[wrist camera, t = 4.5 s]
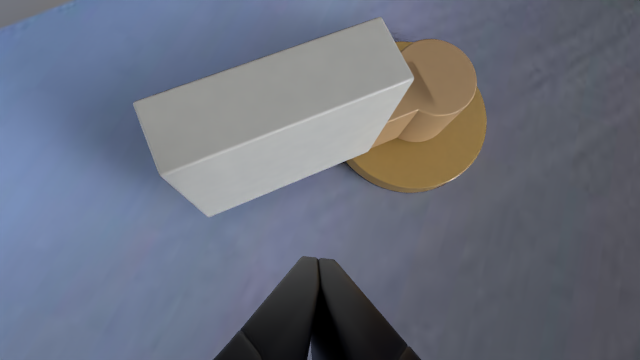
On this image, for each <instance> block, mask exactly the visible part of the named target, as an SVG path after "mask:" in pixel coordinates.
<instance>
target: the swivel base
mask: <svg viewBox="0 0 640 360" xmlns="http://www.w3.org/2000/svg"><path fill="white" fill-rule="evenodd" d="M395 43H396V45H397V47H398V49H399V50H400V52H401V51H402V50H403V49H404V48H405V47H407V46H408V45H410V44H411V43H413V42H395ZM485 133H486V110H485V106H484V102H483V99H482V96H481V93H480V91H479V89H478V87H477V85H476V91H475V94H474V97H473V99H472V101H471V102H470V103H469V105H468V106H467V107H466V108H465V109H464V110H462V111H461V112H460V113H459V114H458V115H457V116H456V117H455V118H454V119H453V120H452V121H451V122H450V123H449V124H448V125H447V126H446V127H445V128H444V129H443V130H442V131H441V132H440V133H439V134H438V135H436V136H435V137H434V138H432V139H430V140H427V141H423V142H409V141H405V140H402V139H399V138H395V139H393V140H390V141H388V142H385V143H383V144H380V145H378V146H376V147H373V148H371V149H370V150H369V151H368V152H366V153H364V154H361V155H359V156H357V157H354V158H352V159H349V160H347V161H346V162H347V163H348V164H349V166H350V167H351V168H352V169H354V170H355V171H356V172H357V173H358V174H359V175H361V176H362V177H363V178H365V179H366V180H368V181H370V182H371V183H373V184H375V185H377V186H380V187H382V188H385V189H389V190H392V191H397V192H405V193H416V192H424V191H428V190H432V189H435V188H438V187H440V186H443V185H444V184H446V183H448V182H449V181H451V180H453V179H454V178H456V177H458V176H459V175H460V174H462V173H463V172H464V171H465V170H466V169H467V168H468V167H469V166H470V165H471V164H472V163H473V161H474V160H475V159H476V157H477V156H478V154H479V152H480V150H481V148H482V145H483V142H484V138H485Z"/></svg>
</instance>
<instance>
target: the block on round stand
mask: <svg viewBox="0 0 640 360" xmlns="http://www.w3.org/2000/svg"><path fill="white" fill-rule="evenodd" d="M476 85H477V79H476V73H475V70H474V67H473V65H472V63H471V61H470V60H469V58H468V57H467V56H466V55H465V54H464V53H463V52H462V51H461V50H460V49H459V48H457V47H456V46H454V45H452V44H450V43H448V42H445V41H442V40H437V39H424V40H419V41H416V42H414V43H411V44H410V45H408V46H407V47H405V48H404V49H403V50H402V51H401V52H400V50H399V49H398V47H397V45H396V43H395V41H394V39H393V38H392V36H391V34H390V32H389V30H388V28H387V27H386V25H385V23H384V21H383V19H382V18H381V17H378V18H375V19H372V20H369V21H366V22H363V23H361V24H358V25H355V26H352V27H349V28H346V29H343V30H340V31H337V32H335V33H332V34H329V35H326V36H323V37H320V38H317V39H314V40H311V41H308V42H306V43H303V44H300V45H297V46H294V47H291V48H288V49H285V50H282V51H279V52H277V53H274V54H271V55H268V56H265V57H262V58H259V59H256V60H253V61H251V62H248V63H245V64H242V65H239V66H236V67H233V68H230V69H227V70H224V71H222V72H219V73H216V74H213V75H210V76H207V77H204V78H201V79H198V80H195V81H193V82H190V83H187V84H184V85H181V86H178V87H175V88H172V89H169V90H167V91H164V92H161V93H158V94H155V95H152V96H149V97H146V98H143V99H140V100H138V101H135V102H134V103H133V106H134V108H135V111H136V114H137V117H138V119H139V122H140V125H141V127H142V130H143V133H144V135H145V138H146V141H147V143H148V146H149V149H150V152H151V154H152V157H153V160H154V162H155V165H156V168H157V170H158V173H159V175H160V176H161V177H162V178H163V179H164V180H165V181H166V182H168V183H169V184H170V185H171V186H172V187H173V188H175V189H176V190H177V191H178V192H179V193H180V194H182V195H183V196H184V197H185V198H186V199H187V200H189V201H190V202H191V203H192V204H193V205H194V206H196V207H197V208H198V209H199V210H200V211H201V212H202V213H204V214H205V215H206V216H207V217H211V216H214V215H216V214H218V213H221V212H223V211H226V210H228V209H231V208H233V207H235V206H238V205H240V204H243V203H245V202H248V201H250V200H252V199H255V198H257V197H260V196H262V195H265V194H267V193H269V192H272V191H274V190H277V189H279V188H282V187H284V186H286V185H289V184H291V183H294V182H296V181H298V180H301V179H303V178H306V177H308V176H311V175H313V174H315V173H318V172H320V171H323V170H325V169H328V168H330V167H332V166H335V165H337V164H340V163H342V162H345V161H347V160H349V159H352V158H354V157H357V156H359V155H361V154H364V153H366V152H368V151H369V150H370V149H371V148H373V147H376V146H378V145H380V144H383V143H385V142H388V141H390V140H393V139H395V138H399V139H402V140H405V141H409V142H423V141H427V140H430V139H432V138H434V137H435V136H436V135H438V134H439V133H440V132H441V131H442V130H443V129H444V128H445V127H446V126H447V125H448V124H449V123H450V122H451V121H452V120H453V119H454V118H455V117H456V116H457V115H458V114H459V113H460V112H461V111H462V110H464V109H465V108H466V107H467V106H468V105H469V103H470V102H471V101H472V99H473V97H474V94H475V91H476Z"/></svg>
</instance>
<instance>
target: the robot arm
mask: <svg viewBox="0 0 640 360" xmlns="http://www.w3.org/2000/svg"><path fill="white" fill-rule="evenodd" d="M310 341H311V353H312V360H421V359H420V358H419V357H418V356H417V354H416V353H415V352H414V351H413V350H412V349H411V347H409V346H408V347H407V344H406V342H405V341H404V340H403V339H402V338H401V337H400V335H399V334H398V333H397V332H396V331H395V330H394V328H393V327H392V326H391V325H390V324H389V323H388V321H387V320H386V319H385V318H384V317H383V316H382V314H381V313H380V312H379V311H378V310H377V309H376V307H375V306H374V305H373V304H372V303H371V302H370V300H369V299H368V298H367V297H366V296H365V295H364V293H363V292H362V291H361V290H360V289H359V288H358V286H357V285H356V284H355V283H354V282H353V281H352V279H351V278H350V277H349V276H348V275H347V274H346V272H345V271H344V270H343V269H342V268H341V267H340V265H339V264H338V263H337V262H336V261H335V260H333V259H325V258H320V259H319V260H318V259H317V258H315V257H306V256H303V257H301V258H300V259H299V260H298V262H297V263H296V264H295V265H294V266H293V268H292V269H291V270H290V271H289V272H288V274H287V275H286V276H285V277H284V278H283V279H282V281H281V282H280V283H279V284H278V285H277V287H276V288H275V289H274V290H273V291H272V293H271V294H270V295H269V296H268V297H267V299H266V300H265V301H264V302H263V303H262V304H261V306H260V307H259V308H258V309H257V310H256V312H255V313H254V314H253V315H252V316H251V318H250V319H249V320H248V321H247V322H246V323H245V325H244V326H243V327H242V328H241V330H240V331H238V332H237V334H236V335H235V336H234V337H233V338H232V339H231V341H230V342H229V343H228V344H227V345H226V346H225V347H224V348H223V350H222V351H221V352H220V353H219V354H218V355H217V356H216V357H215V358H214V359H213V360H307V357H308V352H309V346H310Z"/></svg>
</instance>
